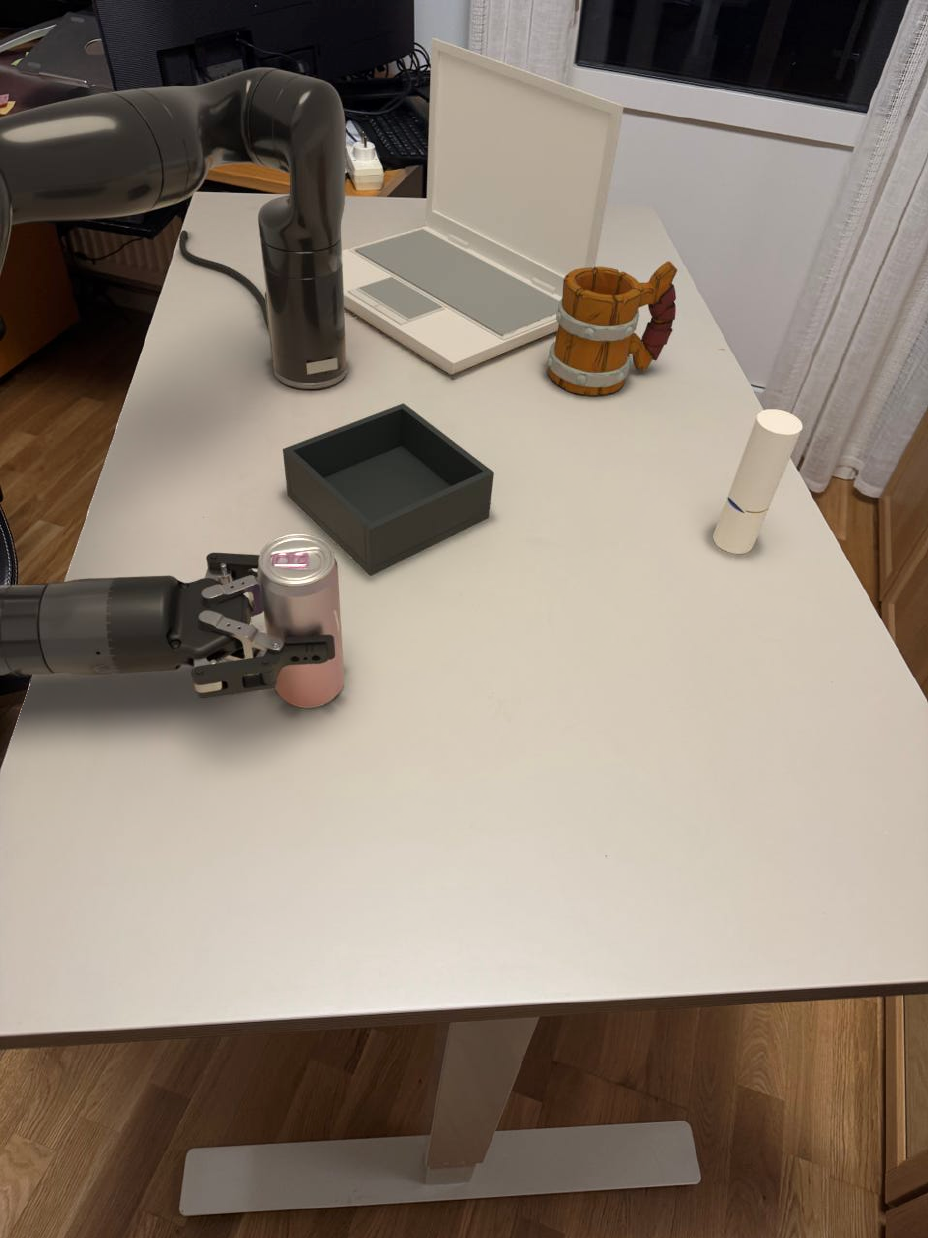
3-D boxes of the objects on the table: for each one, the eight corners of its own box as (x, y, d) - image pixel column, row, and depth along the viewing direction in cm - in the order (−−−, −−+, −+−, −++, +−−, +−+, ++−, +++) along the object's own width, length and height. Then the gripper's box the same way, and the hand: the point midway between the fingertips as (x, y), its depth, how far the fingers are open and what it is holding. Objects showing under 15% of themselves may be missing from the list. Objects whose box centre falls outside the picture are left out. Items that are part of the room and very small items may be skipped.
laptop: (297, 281, 126) (279, 60, 105) (430, 240, 139) (437, 36, 119) (452, 381, 109) (467, 141, 89) (587, 324, 122) (627, 104, 102)
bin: (287, 494, 91) (282, 448, 87) (402, 447, 99) (403, 402, 94) (370, 575, 83) (369, 529, 79) (489, 517, 91) (494, 472, 86)
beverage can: (277, 659, 75) (259, 531, 64) (345, 657, 76) (337, 531, 65) (272, 712, 71) (252, 586, 60) (344, 710, 72) (336, 585, 61)
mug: (534, 357, 115) (549, 246, 104) (646, 351, 118) (672, 243, 107) (556, 400, 108) (575, 286, 97) (675, 393, 111) (706, 282, 100)
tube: (754, 533, 92) (803, 415, 81) (750, 558, 89) (801, 438, 78) (715, 523, 93) (758, 405, 82) (710, 547, 90) (754, 427, 79)
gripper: (87, 664, 58) (333, 652, 60) (119, 528, 68) (330, 522, 70) (113, 729, 63) (338, 716, 66) (139, 594, 73) (334, 587, 75)
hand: (333, 616), depth 68 cm, fingers closed on beverage can, 6 cm apart
